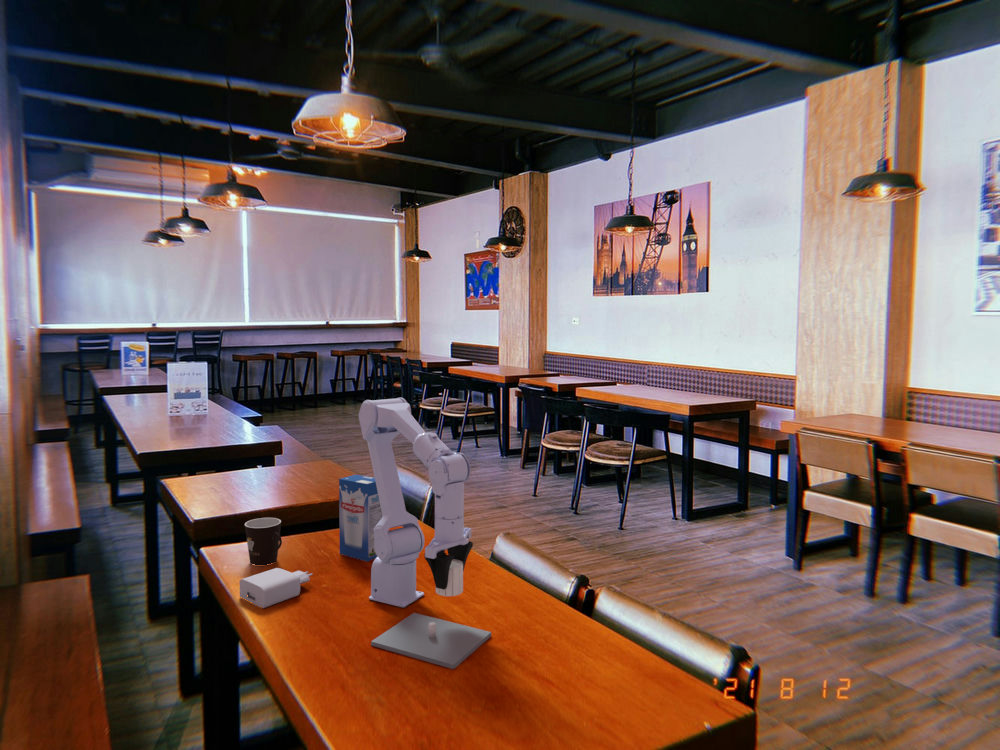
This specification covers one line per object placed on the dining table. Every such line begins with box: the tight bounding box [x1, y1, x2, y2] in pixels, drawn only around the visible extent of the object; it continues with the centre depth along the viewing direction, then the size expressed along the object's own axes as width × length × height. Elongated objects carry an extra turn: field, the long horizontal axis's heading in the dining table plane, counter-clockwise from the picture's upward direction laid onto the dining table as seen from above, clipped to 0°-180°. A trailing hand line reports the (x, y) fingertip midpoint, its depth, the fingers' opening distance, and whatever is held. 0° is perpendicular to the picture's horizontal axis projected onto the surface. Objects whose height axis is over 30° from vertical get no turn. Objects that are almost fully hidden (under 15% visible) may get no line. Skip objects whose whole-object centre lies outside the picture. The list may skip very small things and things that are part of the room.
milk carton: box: [338, 474, 383, 562], centre depth 171 cm, size 10×6×20 cm, turn 58°
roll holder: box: [370, 612, 492, 670], centre depth 125 cm, size 18×14×3 cm
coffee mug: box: [244, 517, 283, 566], centre depth 164 cm, size 12×9×10 cm
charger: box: [239, 567, 313, 609], centre depth 147 cm, size 5×9×15 cm
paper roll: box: [435, 559, 464, 597], centre depth 130 cm, size 5×5×6 cm
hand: (449, 582), depth 131 cm, fingers closed on paper roll, 5 cm apart
